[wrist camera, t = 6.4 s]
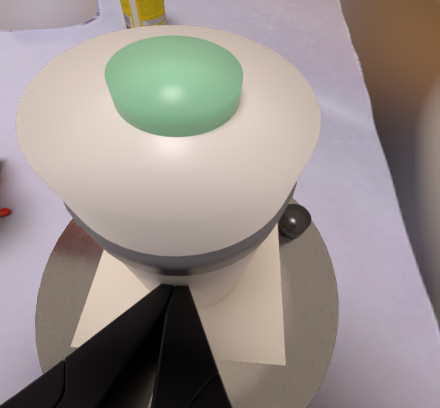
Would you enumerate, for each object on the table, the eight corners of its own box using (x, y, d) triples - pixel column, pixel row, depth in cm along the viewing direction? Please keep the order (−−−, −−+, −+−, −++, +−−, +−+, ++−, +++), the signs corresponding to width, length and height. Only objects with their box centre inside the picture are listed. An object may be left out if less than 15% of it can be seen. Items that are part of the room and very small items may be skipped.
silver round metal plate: (359, 480, 12) (394, 511, 10) (-25, 450, 12) (-77, 475, 10) (313, 176, 23) (325, 158, 20) (102, 155, 22) (91, 134, 20)
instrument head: (278, 363, 12) (655, 455, 2) (81, 346, 12) (-566, 355, 2) (271, 198, 17) (368, -5, 7) (133, 185, 17) (36, -43, 7)
